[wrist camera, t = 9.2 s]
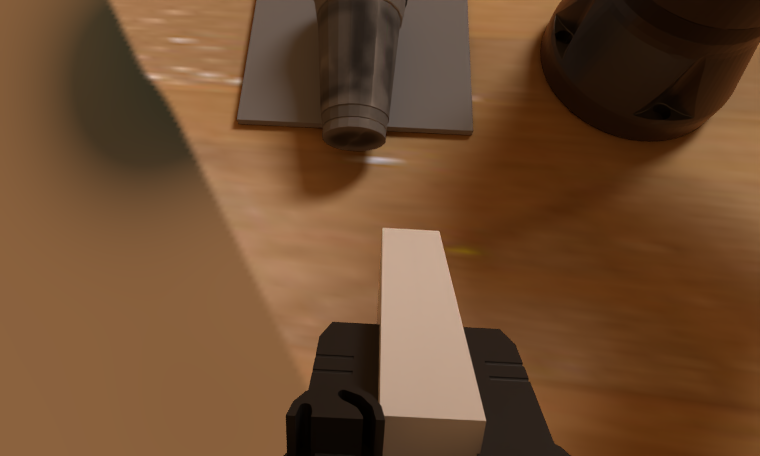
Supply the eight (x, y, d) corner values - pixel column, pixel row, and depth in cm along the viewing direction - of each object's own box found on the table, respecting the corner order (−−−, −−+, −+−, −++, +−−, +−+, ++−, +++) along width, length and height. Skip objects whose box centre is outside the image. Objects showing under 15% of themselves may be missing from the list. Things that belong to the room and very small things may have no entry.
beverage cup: (288, 118, 31) (307, -135, 36) (316, 158, 39) (329, -58, 43) (400, 115, 31) (406, -145, 35) (408, 156, 38) (412, -64, 42)
